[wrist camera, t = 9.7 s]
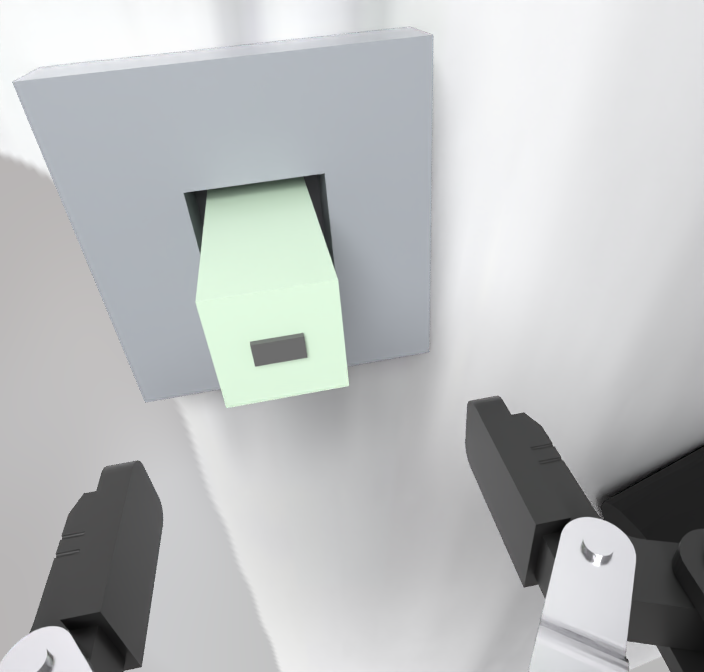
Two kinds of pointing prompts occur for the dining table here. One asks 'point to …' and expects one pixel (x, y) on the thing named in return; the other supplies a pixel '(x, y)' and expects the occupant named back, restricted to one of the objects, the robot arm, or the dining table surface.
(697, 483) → the bottle
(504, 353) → the dining table surface
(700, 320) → the dining table surface
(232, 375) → the block
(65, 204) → the plate
